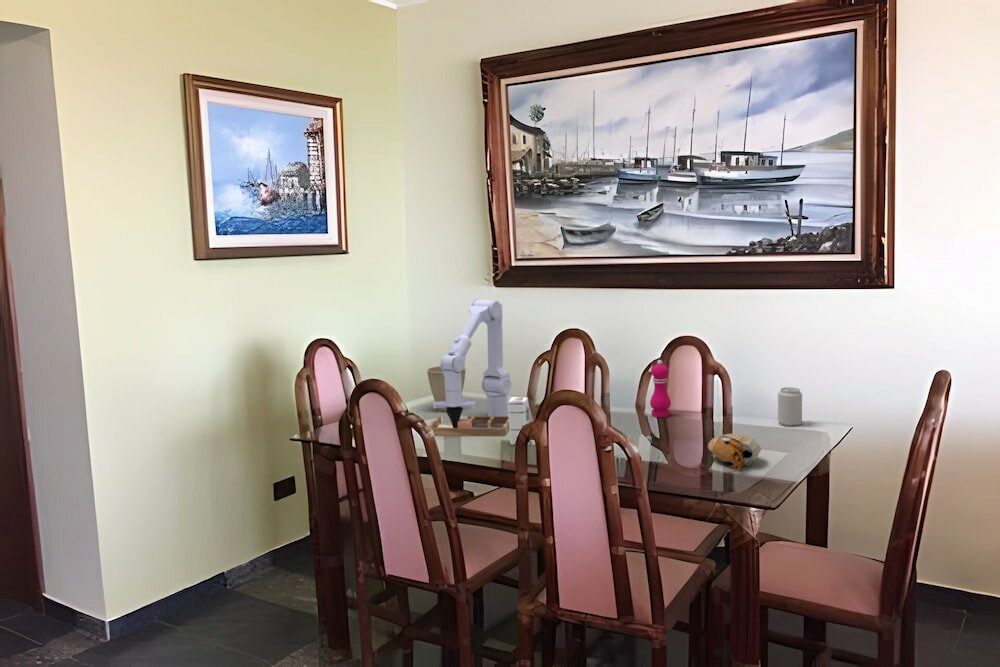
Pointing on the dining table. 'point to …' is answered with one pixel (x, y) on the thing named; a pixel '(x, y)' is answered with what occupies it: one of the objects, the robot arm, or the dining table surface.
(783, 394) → the can
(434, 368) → the plant pot
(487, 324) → the robot arm
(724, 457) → the nautilus
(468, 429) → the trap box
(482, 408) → the dining table surface
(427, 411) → the dining table surface
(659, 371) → the pepper mill
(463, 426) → the coral block
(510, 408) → the syrup box
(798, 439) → the dining table surface
